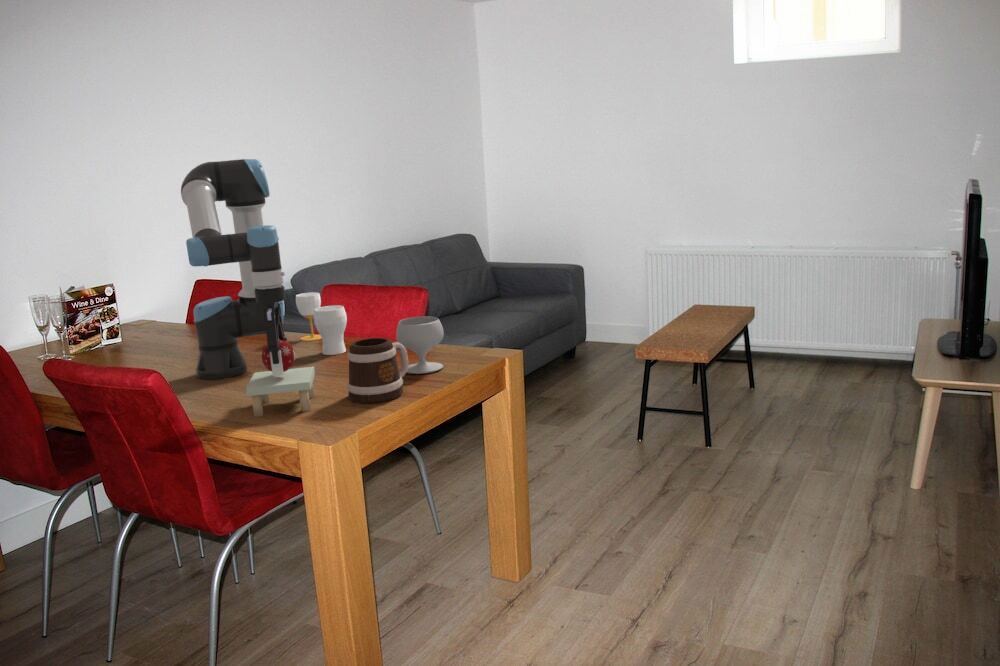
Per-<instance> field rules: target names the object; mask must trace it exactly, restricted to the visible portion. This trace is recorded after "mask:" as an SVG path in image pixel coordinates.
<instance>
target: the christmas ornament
mask: <svg viewBox="0 0 1000 666" xmlns="http://www.w3.org/2000/svg"><path fill="white" fill-rule="evenodd" d="M272 346H275V345H272ZM267 348H268V345H267V344H266V345H265V346H264V348H263V350H262V352H261V361H262V363H263V365H264V366H265V368H266V369H267V370H268V371H272V367H271V359H270V352H266V349H267ZM279 348H280V350H281V357H282V365H283V372H285V371H287V370H289V369H292V367H293V365H294V364H295V361H296V351H295V349H294V347H293V346H292V344H291V343H289V342H288V341H283V340H279Z"/></svg>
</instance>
